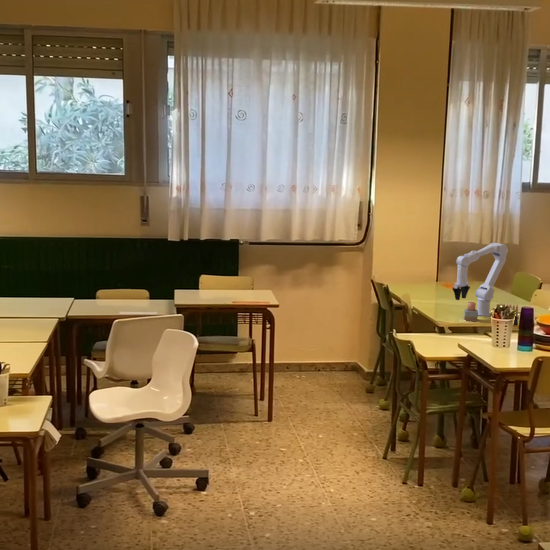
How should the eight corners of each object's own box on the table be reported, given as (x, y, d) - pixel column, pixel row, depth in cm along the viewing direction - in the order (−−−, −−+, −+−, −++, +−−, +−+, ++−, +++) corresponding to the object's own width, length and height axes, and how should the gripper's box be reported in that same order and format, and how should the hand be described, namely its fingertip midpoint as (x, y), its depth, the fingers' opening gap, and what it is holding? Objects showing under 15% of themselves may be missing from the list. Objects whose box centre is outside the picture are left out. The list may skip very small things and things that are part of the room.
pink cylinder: (468, 309, 404) (468, 301, 404) (475, 310, 402) (476, 302, 402) (466, 310, 400) (467, 303, 400) (474, 311, 399) (474, 303, 398)
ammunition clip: (517, 324, 393) (518, 304, 391) (517, 325, 391) (519, 304, 389) (497, 323, 395) (499, 302, 393) (497, 324, 393) (499, 303, 391)
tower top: (464, 313, 406) (464, 308, 405) (476, 314, 405) (476, 309, 404) (465, 316, 399) (465, 311, 399) (477, 317, 398) (478, 312, 397)
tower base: (464, 318, 406) (464, 313, 406) (476, 319, 405) (476, 314, 404) (464, 321, 400) (464, 316, 399) (477, 322, 398) (477, 317, 398)
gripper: (461, 274, 415) (460, 296, 418) (449, 276, 405) (448, 299, 407) (472, 275, 411) (471, 298, 413) (460, 278, 400) (459, 301, 402)
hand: (460, 299), depth 410 cm, fingers open, 7 cm apart
